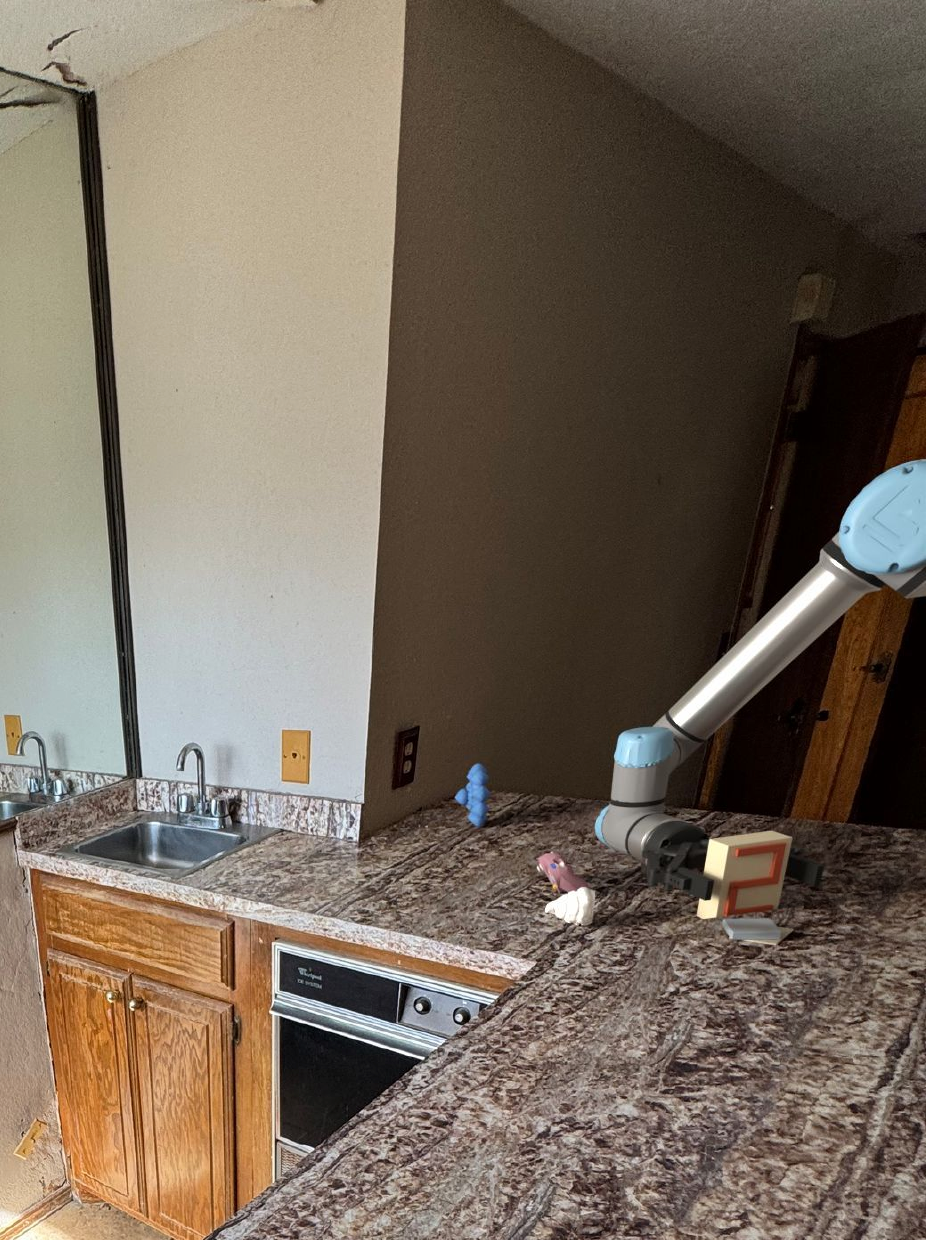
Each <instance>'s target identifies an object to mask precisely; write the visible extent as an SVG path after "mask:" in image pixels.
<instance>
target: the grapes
mask: <svg viewBox="0 0 926 1240" xmlns="http://www.w3.org/2000/svg"><path fill="white" fill-rule="evenodd" d="M487 772H488V770H487V768H486V767H484V765H483V764H482V763H479V762H478V763H475V764H474V765H472V767H471V768H470V770H469V771H468V774H467V775H466V778H467V779H468V781H469V782H467V784H466V786H465V788H461V789H459V790H458V792H457V793H456V794H455V796H454V799H455V800H456V802H457V803H458V804H460V805H462V806H464V805H465V807H466V809H468V811H470V812H469V814H468V815H467V819H468V820H469V821H470V823H471V824H472V825H474V826H475V827H477V828H479V827H481V826H483V825H484V824H485V822H486V821H487V820H488V816H487V813H488V812H489V811H490V807H489V806H488V805H487V804H486V802H487V801H488V799H489V798H490V796H491V792H490V790H489V789H488V788H487V787H486V783H487V782H488V781H489V779H490V777H489V775H488V774H487Z"/></svg>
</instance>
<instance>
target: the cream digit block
mask: <svg viewBox="0 0 926 1240" xmlns="http://www.w3.org/2000/svg"><path fill="white" fill-rule="evenodd" d="M792 842H793V837H792V836H789V835H786V834H783V833H781V832H777V831H774V830H766V831H758V832H751V833H744V834H743V833H742V834H737V835H728V836H722V837H713V838H709V845H708V851H707V857H706V863H705V869H704V868H703V869H704V870H703V874H702V875H703V876H705V877H708V878H710V879H712V880H714V885H713V891H712V896H711V900H707V901H704V900H702V899H700V898H698V899H699V900H698V906H697V910H696V911H697V912H696V917H698V918H699V919H701V920H707V919H714V918H722V917H729V916H736V915H737V916H739V915H745V914H752V913H759V912H767V911H775V910H779V905H780V901H781V895H782V889H783V886H784V881H785V877H786V876H785V872H786V867H787V862H788V857H789V852H790V847H792Z"/></svg>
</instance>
